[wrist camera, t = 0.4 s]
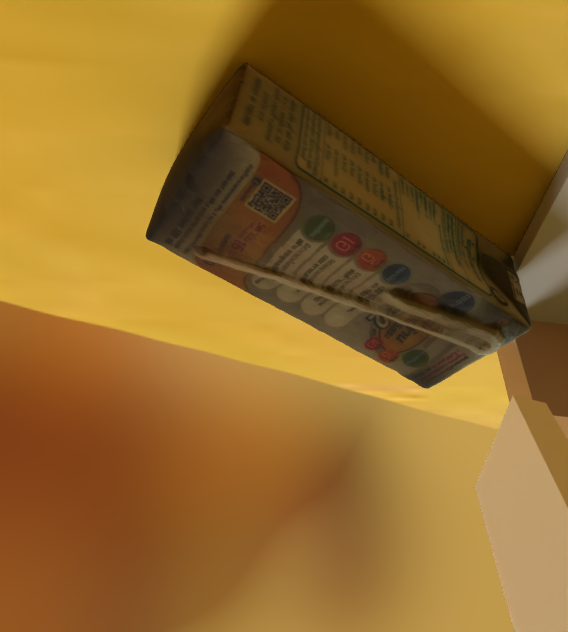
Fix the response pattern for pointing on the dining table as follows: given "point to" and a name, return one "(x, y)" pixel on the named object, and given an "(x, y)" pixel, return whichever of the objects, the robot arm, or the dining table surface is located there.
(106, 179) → the dining table surface
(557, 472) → the robot arm
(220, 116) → the beverage carton
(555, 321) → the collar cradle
